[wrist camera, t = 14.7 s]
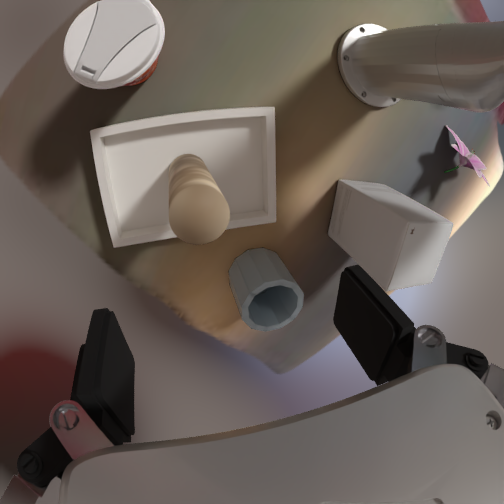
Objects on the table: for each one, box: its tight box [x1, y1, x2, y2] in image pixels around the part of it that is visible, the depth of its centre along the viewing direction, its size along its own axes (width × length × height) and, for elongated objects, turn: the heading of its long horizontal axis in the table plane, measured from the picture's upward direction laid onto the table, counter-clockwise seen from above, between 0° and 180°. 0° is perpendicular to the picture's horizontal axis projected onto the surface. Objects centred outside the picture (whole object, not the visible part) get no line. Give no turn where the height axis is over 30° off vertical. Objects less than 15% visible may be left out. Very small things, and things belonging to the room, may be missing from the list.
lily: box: [444, 126, 490, 187], centre depth 39 cm, size 12×12×10 cm
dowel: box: [169, 154, 230, 245], centre depth 27 cm, size 4×4×14 cm
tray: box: [90, 107, 276, 248], centre depth 32 cm, size 20×14×3 cm
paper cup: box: [63, 0, 165, 89], centre depth 19 cm, size 8×8×14 cm
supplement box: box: [328, 180, 453, 291], centre depth 36 cm, size 9×9×15 cm
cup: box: [228, 247, 304, 331], centre depth 39 cm, size 8×8×8 cm
